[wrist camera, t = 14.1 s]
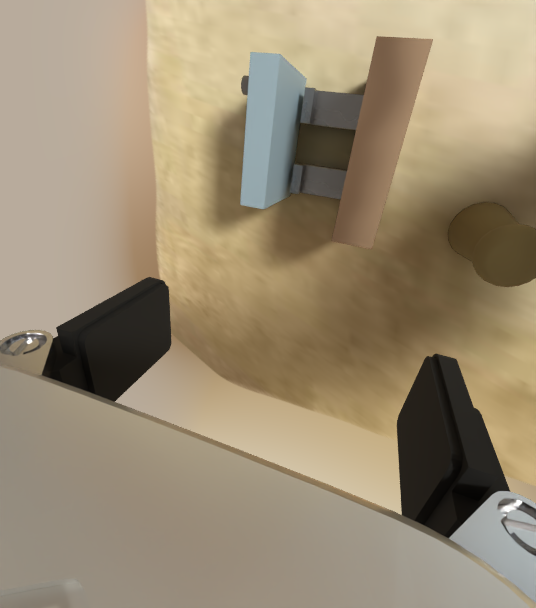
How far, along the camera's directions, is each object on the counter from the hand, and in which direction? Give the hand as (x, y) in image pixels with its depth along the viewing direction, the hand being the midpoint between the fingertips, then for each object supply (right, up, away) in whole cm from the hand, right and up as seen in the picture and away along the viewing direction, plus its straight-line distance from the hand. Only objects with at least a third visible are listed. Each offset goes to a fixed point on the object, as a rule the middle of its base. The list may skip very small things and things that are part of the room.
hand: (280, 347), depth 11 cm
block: (+2, +21, +25) cm, 32 cm away
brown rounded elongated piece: (+23, +10, +23) cm, 34 cm away
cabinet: (+11, +18, +22) cm, 31 cm away
